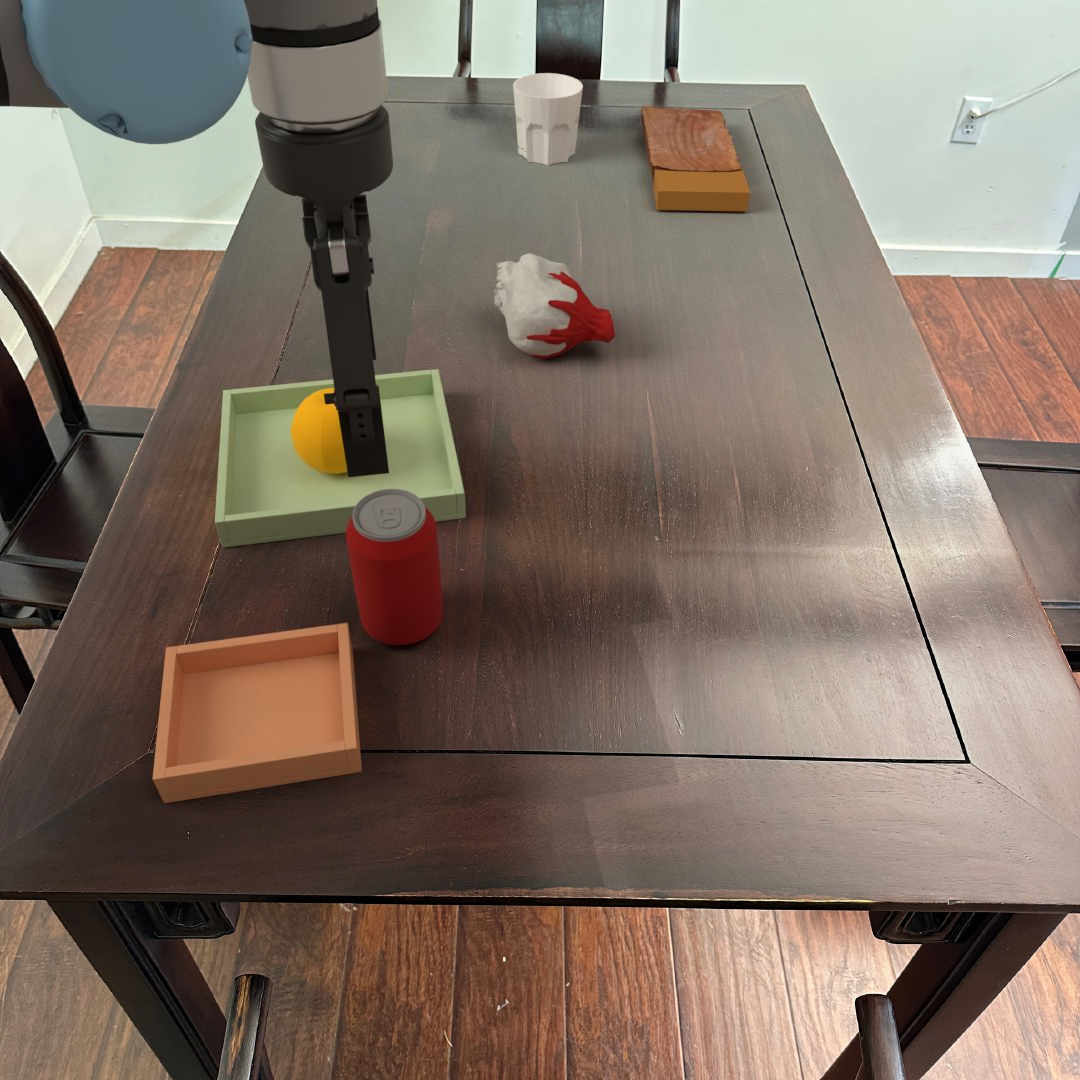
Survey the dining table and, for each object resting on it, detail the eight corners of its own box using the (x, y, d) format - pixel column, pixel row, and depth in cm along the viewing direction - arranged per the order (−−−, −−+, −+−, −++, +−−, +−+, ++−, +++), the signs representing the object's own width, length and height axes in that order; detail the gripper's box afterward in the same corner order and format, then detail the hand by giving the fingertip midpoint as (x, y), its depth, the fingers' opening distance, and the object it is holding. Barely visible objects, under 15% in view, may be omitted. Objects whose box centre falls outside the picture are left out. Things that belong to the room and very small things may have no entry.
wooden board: (653, 212, 132) (655, 188, 130) (638, 126, 154) (640, 105, 152) (748, 213, 132) (752, 190, 130) (720, 128, 154) (723, 106, 152)
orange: (328, 425, 96) (317, 362, 91) (396, 447, 94) (389, 383, 89) (280, 472, 91) (265, 407, 86) (350, 496, 89) (340, 432, 84)
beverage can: (439, 585, 82) (430, 478, 74) (448, 646, 77) (439, 539, 69) (359, 594, 81) (341, 487, 73) (363, 657, 76) (343, 549, 68)
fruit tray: (222, 548, 85) (214, 522, 83) (229, 415, 98) (223, 390, 96) (466, 518, 88) (464, 492, 86) (440, 393, 102) (438, 368, 100)
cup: (588, 146, 148) (592, 79, 141) (566, 172, 141) (569, 102, 134) (528, 136, 150) (528, 69, 143) (503, 161, 144) (502, 92, 137)
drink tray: (164, 803, 67) (152, 779, 65) (176, 672, 75) (165, 647, 73) (362, 772, 69) (356, 747, 67) (352, 647, 77) (347, 622, 75)
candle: (494, 305, 113) (617, 336, 112) (467, 356, 105) (600, 390, 104) (502, 234, 107) (633, 267, 106) (475, 284, 99) (616, 319, 98)
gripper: (258, 39, 63) (307, 323, 78) (245, 211, 45) (312, 536, 60) (374, 34, 64) (401, 315, 79) (406, 200, 46) (433, 522, 61)
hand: (363, 411), depth 69 cm, fingers open, 13 cm apart
